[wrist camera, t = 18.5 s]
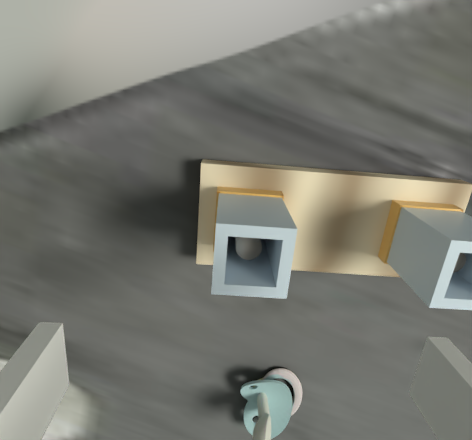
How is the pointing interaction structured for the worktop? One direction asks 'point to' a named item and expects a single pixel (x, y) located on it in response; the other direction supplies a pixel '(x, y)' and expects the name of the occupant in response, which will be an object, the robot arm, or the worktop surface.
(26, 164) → the worktop surface
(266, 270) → the sleeve
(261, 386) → the pacifier
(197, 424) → the worktop surface
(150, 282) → the worktop surface
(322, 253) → the pin board
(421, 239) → the sleeve
